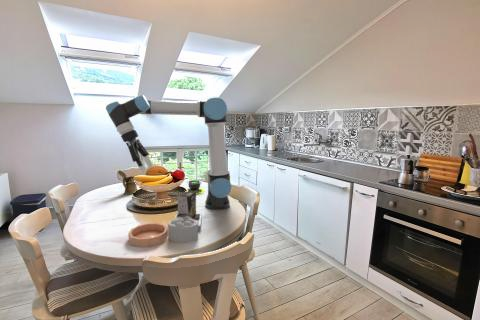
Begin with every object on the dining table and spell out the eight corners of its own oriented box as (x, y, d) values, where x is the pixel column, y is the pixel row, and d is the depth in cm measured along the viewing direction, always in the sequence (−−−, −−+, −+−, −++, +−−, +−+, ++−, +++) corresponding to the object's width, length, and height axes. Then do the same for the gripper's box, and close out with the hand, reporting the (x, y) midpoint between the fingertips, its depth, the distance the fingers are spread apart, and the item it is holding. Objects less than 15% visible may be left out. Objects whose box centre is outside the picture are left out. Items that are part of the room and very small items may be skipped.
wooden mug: (115, 195, 172) (114, 169, 169) (132, 190, 184) (130, 166, 181) (124, 197, 168) (123, 171, 165) (140, 192, 180) (139, 167, 177)
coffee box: (190, 228, 122) (189, 197, 120) (177, 227, 124) (177, 196, 121) (196, 221, 131) (196, 191, 129) (185, 220, 133) (184, 190, 130)
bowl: (169, 229, 121) (169, 222, 121) (163, 245, 105) (163, 238, 105) (135, 230, 119) (135, 223, 119) (124, 247, 104) (123, 239, 103)
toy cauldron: (208, 190, 187) (208, 176, 185) (195, 195, 174) (195, 180, 172) (193, 187, 195) (193, 173, 193) (179, 192, 182) (179, 177, 180)
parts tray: (201, 217, 136) (201, 213, 135) (200, 230, 121) (200, 225, 120) (176, 218, 134) (175, 214, 134) (171, 231, 119) (171, 226, 119)
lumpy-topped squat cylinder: (178, 230, 121) (177, 213, 119) (202, 234, 117) (202, 216, 115) (165, 240, 111) (164, 221, 109) (191, 244, 107) (191, 225, 105)
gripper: (129, 134, 138) (147, 168, 141) (111, 136, 113) (134, 177, 117) (141, 128, 138) (159, 162, 142) (126, 129, 113) (148, 170, 117)
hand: (148, 169), depth 129 cm, fingers open, 13 cm apart
